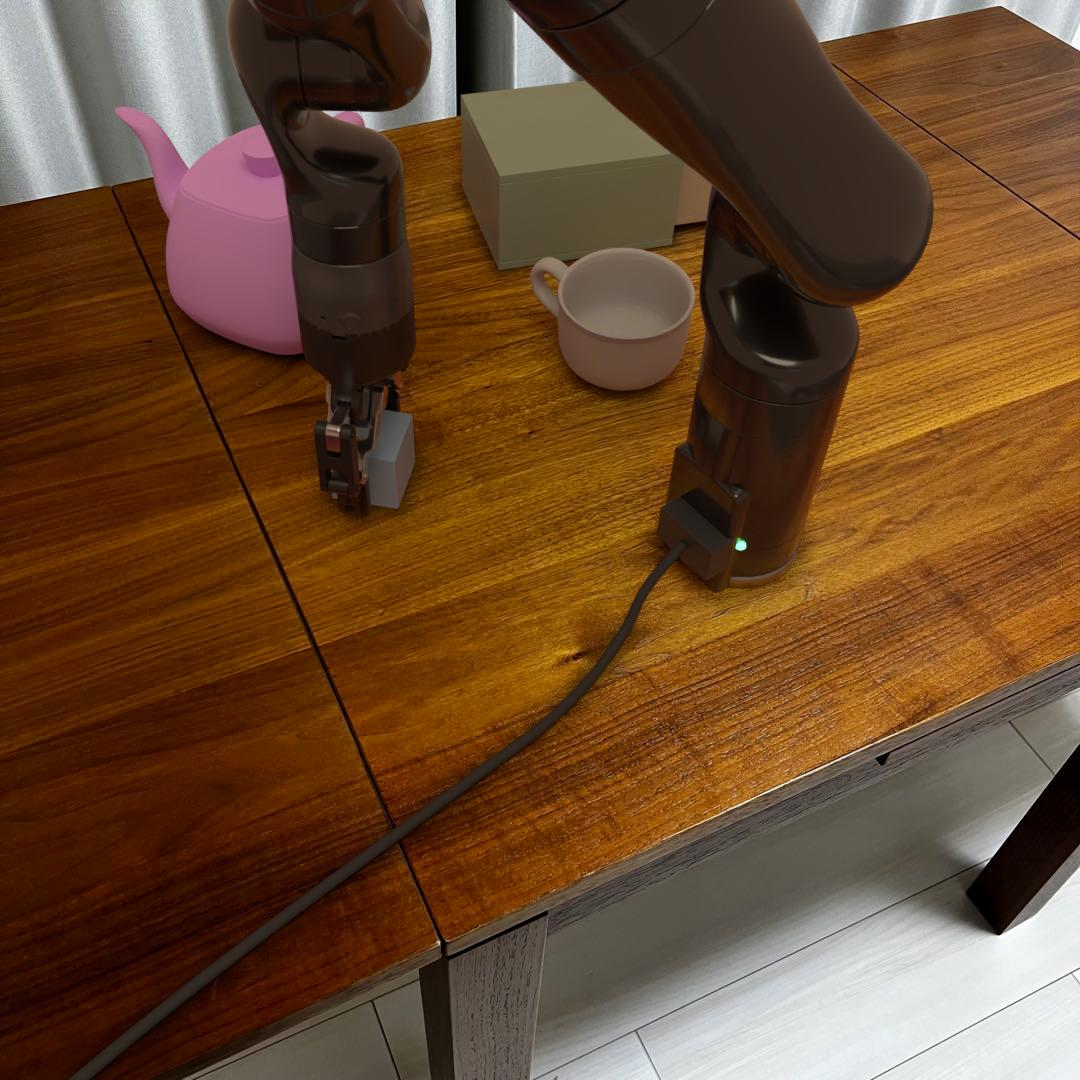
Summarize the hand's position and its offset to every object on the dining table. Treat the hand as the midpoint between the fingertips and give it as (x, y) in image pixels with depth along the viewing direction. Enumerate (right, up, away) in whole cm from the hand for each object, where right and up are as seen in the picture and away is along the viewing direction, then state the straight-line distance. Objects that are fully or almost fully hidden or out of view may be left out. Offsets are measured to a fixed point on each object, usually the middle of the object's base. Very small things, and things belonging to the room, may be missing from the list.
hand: (371, 470), depth 88 cm
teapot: (-10, +16, +15) cm, 24 cm away
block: (0, -1, +1) cm, 1 cm away
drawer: (+28, +29, +27) cm, 48 cm away
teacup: (+18, +10, +11) cm, 23 cm away
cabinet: (+15, +25, +24) cm, 38 cm away
